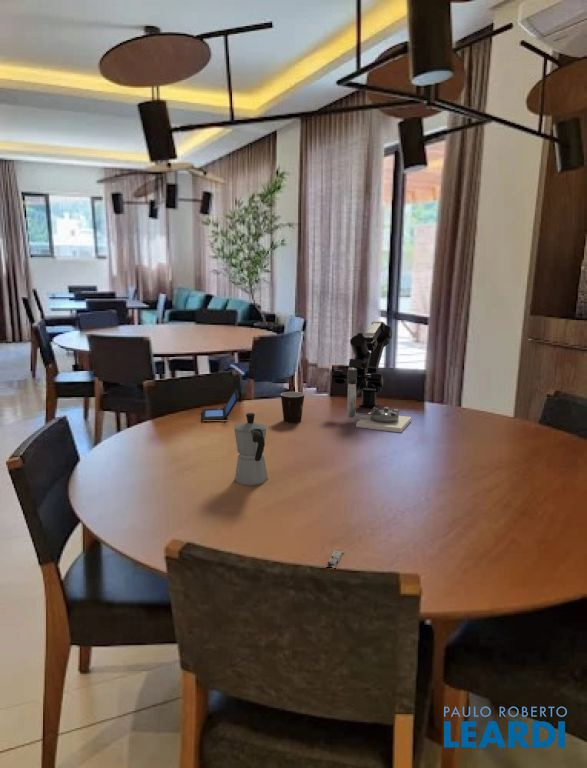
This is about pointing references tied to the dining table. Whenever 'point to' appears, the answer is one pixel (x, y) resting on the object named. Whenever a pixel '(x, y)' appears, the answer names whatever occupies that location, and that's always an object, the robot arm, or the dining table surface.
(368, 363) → the robot arm
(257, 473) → the coffee maker
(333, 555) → the granola bar
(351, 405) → the grey l-shaped piece
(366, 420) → the base plate
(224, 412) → the handheld game console
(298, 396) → the dark brown coffee cup
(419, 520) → the dining table surface
